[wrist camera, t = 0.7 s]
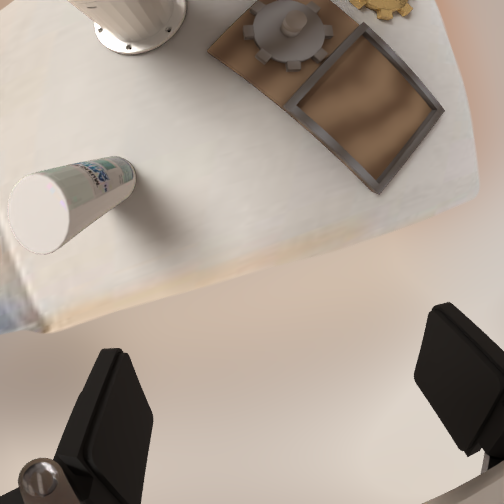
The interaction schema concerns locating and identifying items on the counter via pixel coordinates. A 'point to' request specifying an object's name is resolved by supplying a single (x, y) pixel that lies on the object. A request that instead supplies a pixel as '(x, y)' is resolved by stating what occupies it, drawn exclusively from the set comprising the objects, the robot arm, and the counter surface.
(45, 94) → the counter surface
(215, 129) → the counter surface
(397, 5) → the gear
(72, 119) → the counter surface
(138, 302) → the counter surface
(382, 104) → the carrier plate
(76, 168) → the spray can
